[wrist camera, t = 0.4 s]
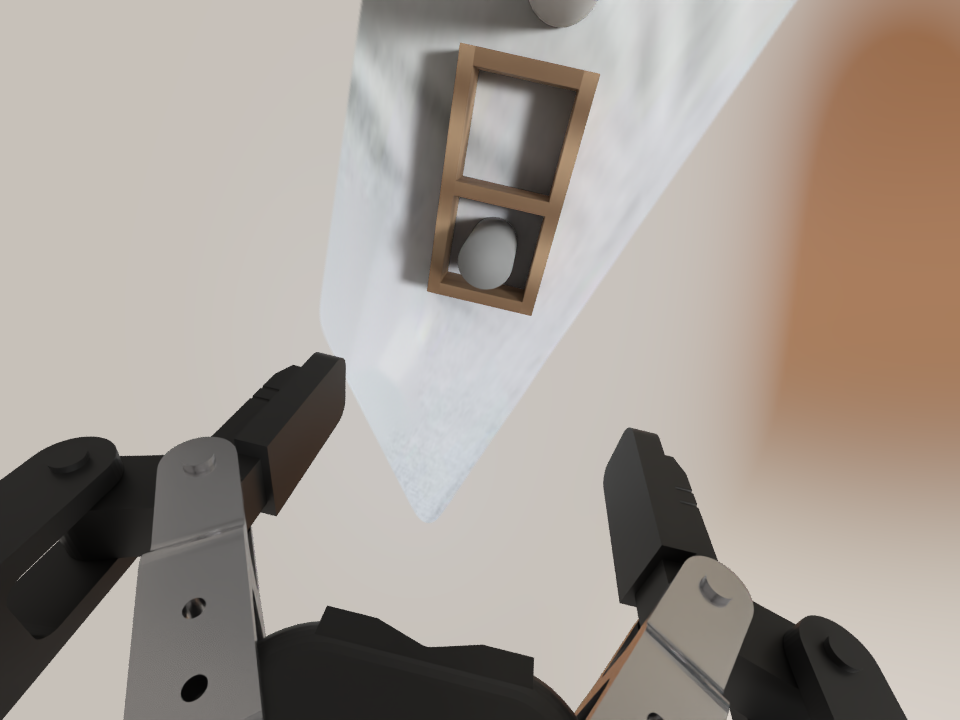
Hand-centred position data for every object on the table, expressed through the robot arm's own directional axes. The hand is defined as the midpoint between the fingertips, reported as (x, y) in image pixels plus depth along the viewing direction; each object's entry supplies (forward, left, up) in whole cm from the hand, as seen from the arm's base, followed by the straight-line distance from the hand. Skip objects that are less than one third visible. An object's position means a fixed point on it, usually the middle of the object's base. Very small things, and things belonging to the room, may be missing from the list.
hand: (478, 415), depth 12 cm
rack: (-2, -2, -26) cm, 26 cm away
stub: (+2, -2, -26) cm, 26 cm away
